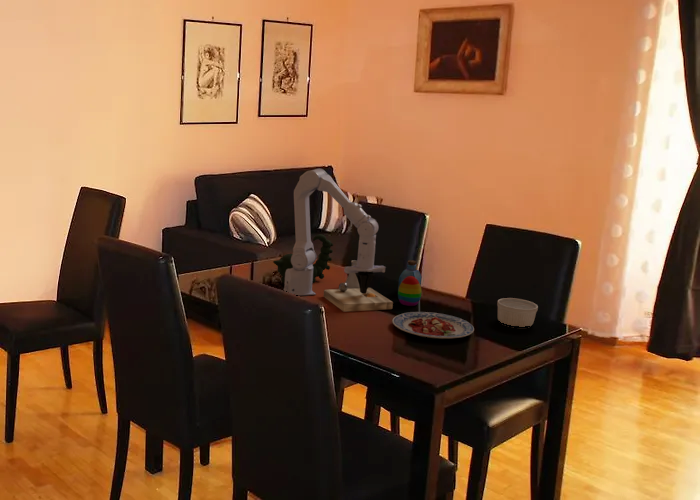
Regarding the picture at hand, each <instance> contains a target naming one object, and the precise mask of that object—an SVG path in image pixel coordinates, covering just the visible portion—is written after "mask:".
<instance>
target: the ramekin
mask: <svg viewBox="0 0 700 500" xmlns="http://www.w3.org/2000/svg"><path fill="white" fill-rule="evenodd" d="M496 302H497V304H496V305H497V320H498V321H500V322H501V323H504V324H507V325H511V326H519V327H525V326H530V327H531V326H532V325H533V324H534V323H535V322H534V321H535V318H536V316H537V315H536V314H537V312H538V309H539V306H538V304H536V303H534V302H533V301H529V300H526V299H522V298H515V297H514V298H513V297H507V298H504V297H503V298H500V299H498V300H497V301H496ZM500 322H499V323H500ZM501 323H500V324H501Z"/></svg>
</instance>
